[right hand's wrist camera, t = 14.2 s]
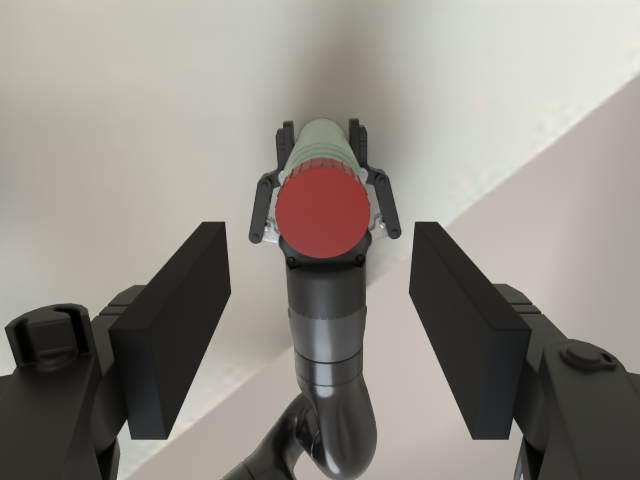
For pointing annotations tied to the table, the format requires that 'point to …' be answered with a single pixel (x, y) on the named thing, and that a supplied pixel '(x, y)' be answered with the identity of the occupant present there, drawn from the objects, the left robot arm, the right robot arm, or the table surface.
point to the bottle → (321, 146)
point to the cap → (322, 208)
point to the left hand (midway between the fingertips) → (321, 121)
